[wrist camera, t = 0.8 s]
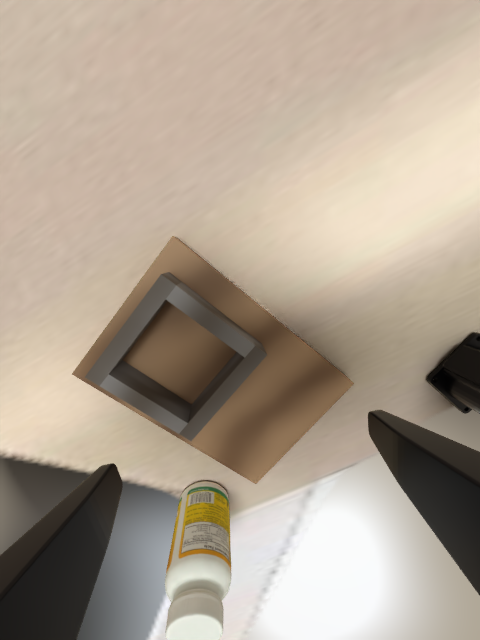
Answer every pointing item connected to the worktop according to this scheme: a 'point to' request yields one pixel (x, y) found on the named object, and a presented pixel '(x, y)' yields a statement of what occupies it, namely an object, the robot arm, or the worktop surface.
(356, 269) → the worktop surface
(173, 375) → the socket board
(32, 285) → the worktop surface
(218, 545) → the supplement bottle
